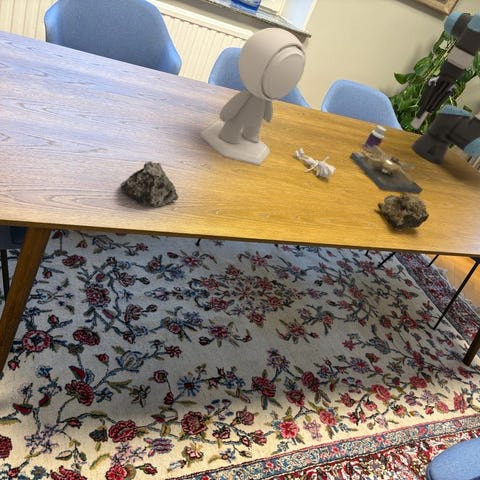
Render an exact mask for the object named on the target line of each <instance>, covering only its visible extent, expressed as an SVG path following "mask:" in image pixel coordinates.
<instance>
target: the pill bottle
mask: <svg viewBox="0 0 480 480" xmlns="http://www.w3.org/2000/svg"><path fill="white" fill-rule="evenodd" d="M386 132H387V129H386V127H385V128H384V127H383V126H381V125H376V127H375V129H373V130H371V132H370V133H369V135H368V137H367V139H366V140H365V142H364V144H363V146H362V148H363V149H364V150H365V151H367V152H369V153H371V154H375V153H374V152H373V151H372V150H371V149H372V147H373V146H374V145H375V146H378V147H379V148H380V145H381V144H382V142H383V140H384V139H385V136H384V134H385V133H386Z"/></svg>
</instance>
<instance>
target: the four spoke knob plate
mask: <svg viewBox="0 0 480 480" xmlns="http://www.w3.org/2000/svg"><path fill="white" fill-rule="evenodd" d="M371 150H372V151H373V152H374V153H373V154H375V155H376V156H377V157H379V158H372V157H370V158H369V159H368V161H367V163H368V164H369V165H372V166H377V167H378V168H379V169H380V170H382V171H383V172H385V173H387V174H390V175H395V174H396V175H398V176H399V177H400V178H401V179H402V180H403V181H404V182H405V183H406V184H407V185H411V184H412V183H413V181H414V182H415V179H414V178H412V177H411V176H410V174H408V173H407V172H406V171H409V172H413V170H414V169H415V168H416V166H415V165H414V164H413V163H410V162H402V161H400V160H399V159H398V158H397V157H396V156H392V155H391V156H390V155H388V154H387V153H386V152H385V151H384V150H382V148H380V146H379V147H378V146H375V145H374V146H373V147H372V149H371Z"/></svg>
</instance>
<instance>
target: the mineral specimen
mask: <svg viewBox="0 0 480 480" xmlns="http://www.w3.org/2000/svg"><path fill="white" fill-rule="evenodd" d="M383 201H384V202H383ZM383 201H382V202H381V201H380V202H378V203H377V206H378V209H380V211H381V212H382V214H383V216H384V217H385V218H386V219H387V222H388V223H389V224H390V225H391V227H392V228H393V229H395V230H397V231H402V230H404V229H416V228H419V227H420V226H421V225H423V223H425V222H426V221H427V220H428V218H429V216H430V214H429V212H428V211H427V206H426V204H425V202H424V201H423V198H419V196H417V195H416V194H413V195H412V193H405V192H404V193H401V194H399V195H395V194H390V195H387V196H386V197H385V198H384V200H383Z"/></svg>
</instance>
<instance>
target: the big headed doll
mask: <svg viewBox="0 0 480 480" xmlns="http://www.w3.org/2000/svg"><path fill="white" fill-rule="evenodd" d="M237 67H238V73H239V77H240V79H241V82H242V83H243V86H245V88H246V89H243V90H241V91H239V92H237V93H236V94H234V95H233V96H232V97H231V98H230V99H228V101H226V103H225V105H224V106H223V107H222V109H221V110H220V113H219V120H221V121H218V120H217V121H214V122H213V123H212V124H210V125H208V126H207V127H206V128H205V129H204V130H202V131H201V132H200V133H199V136H200V137H201V138H202V139H203V140H204V141H205V142H206V143H207V144H208V145H209V146H210V147H212V148H213V149H214V150H215V151H216V152H217V153H218V154H219V155H221V157H223V158H227V159H230V160H234V161H239V162H242V163H246V164H251V165H253V166H260V165H261V164H262V163H263V162H264V161H265V160H266V158H267V156H269V154H270V152H271V151H270V148H269V146H267V145H266V144H265V143H264V142H263V141H261V140H260V137H259V136H260V132H261V129H262V128H261V127H262V123H263V120H264V121H265V122H266V123H271V121H272V119H273V116H274V107H273V106H274V104H273V101H278V100H281V98H283V97H285V96H287V95H288V94H290V93H291V92H292V91H293V90H294V89H295V88H296V87H297V85H298V84H299V83H300V81H301V79H302V76H303V75H304V69H305V67H306V51H305V49H304V46H303V44H302V43H301V41H300V40H299V39H298V38H297V37H296V35H294V34H293V33H291V32H290V31H288V30H286V29H283V28H279V27H266V28H263V29H260V30H258V31H256V32H255V33H253V34H252V35H251V36H250V37H249V38H248V39H247V40H246V41H245V42H244V44H243V46H242V47H241V50H240V53H239V56H238V63H237Z"/></svg>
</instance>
